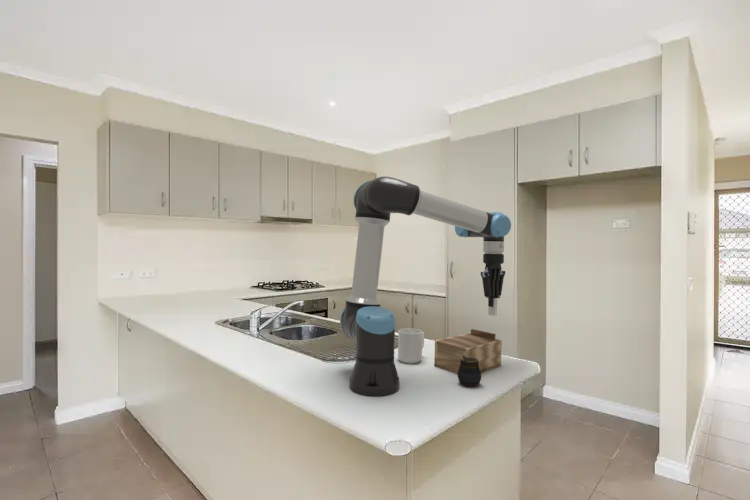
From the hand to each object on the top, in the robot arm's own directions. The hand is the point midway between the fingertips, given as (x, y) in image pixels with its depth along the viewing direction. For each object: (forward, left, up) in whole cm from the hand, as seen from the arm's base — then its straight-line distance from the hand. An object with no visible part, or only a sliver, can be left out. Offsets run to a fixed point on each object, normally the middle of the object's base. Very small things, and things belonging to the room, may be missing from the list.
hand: (492, 315), depth 151 cm
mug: (-25, +17, -17) cm, 35 cm away
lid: (-14, 0, -9) cm, 17 cm away
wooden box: (-14, 0, -17) cm, 22 cm away
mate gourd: (-29, -12, -17) cm, 36 cm away
